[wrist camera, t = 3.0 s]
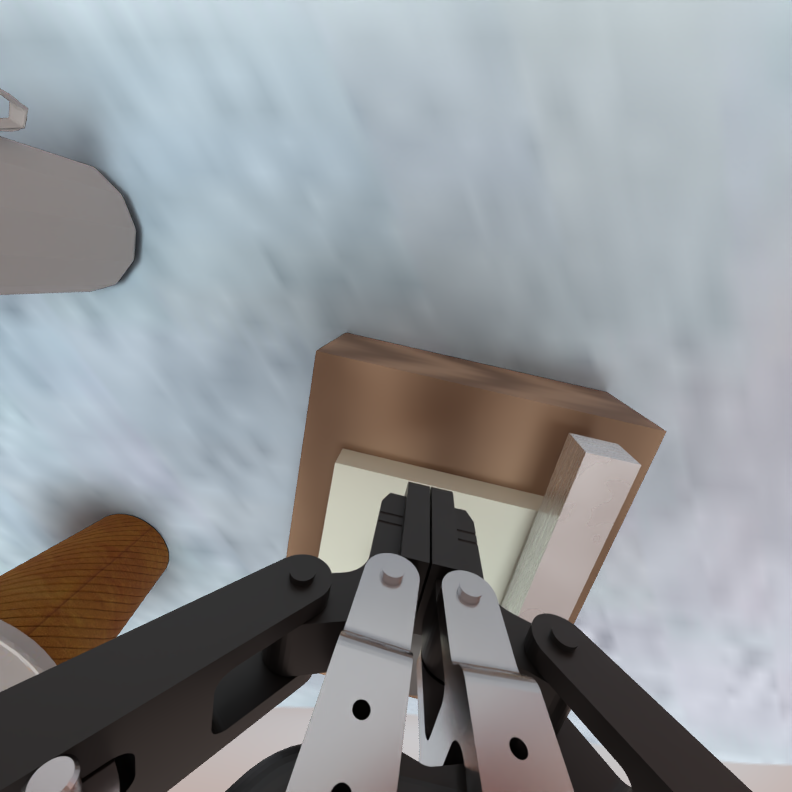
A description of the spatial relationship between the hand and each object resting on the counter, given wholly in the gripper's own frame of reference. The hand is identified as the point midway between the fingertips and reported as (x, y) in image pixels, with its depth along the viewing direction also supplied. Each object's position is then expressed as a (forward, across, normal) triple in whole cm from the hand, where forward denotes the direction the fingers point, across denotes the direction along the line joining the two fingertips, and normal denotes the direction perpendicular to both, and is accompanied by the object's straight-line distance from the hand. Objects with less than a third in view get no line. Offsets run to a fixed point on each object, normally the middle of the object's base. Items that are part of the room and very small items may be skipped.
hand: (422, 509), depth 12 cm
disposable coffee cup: (+12, +20, +18) cm, 29 cm away
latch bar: (+4, -6, +7) cm, 10 cm away
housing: (+12, -2, +7) cm, 14 cm away
